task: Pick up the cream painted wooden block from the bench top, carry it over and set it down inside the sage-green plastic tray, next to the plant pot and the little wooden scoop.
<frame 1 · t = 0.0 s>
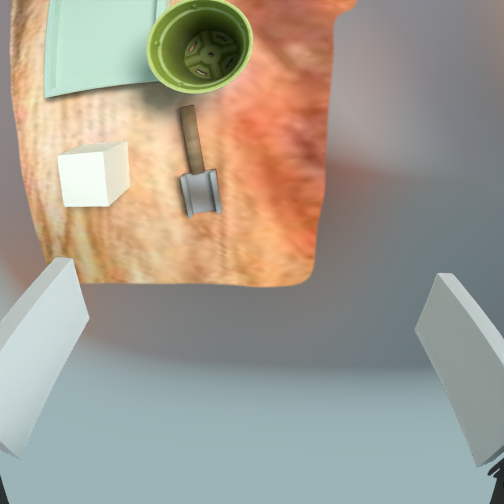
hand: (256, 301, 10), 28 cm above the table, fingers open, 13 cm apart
block: (107, 164, 36), on the table
plant pot: (210, 54, 30), on the table
scoop: (199, 171, 36), on the table
tray: (106, 27, 27), on the table
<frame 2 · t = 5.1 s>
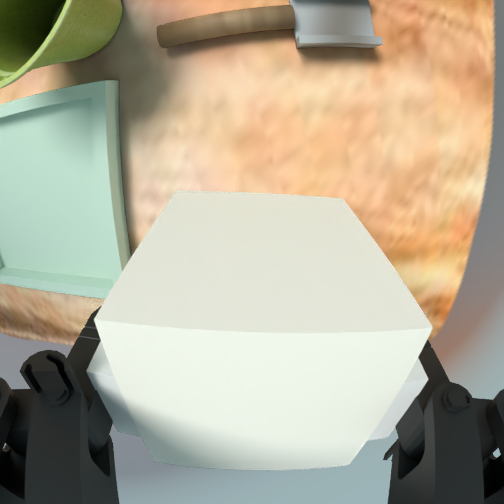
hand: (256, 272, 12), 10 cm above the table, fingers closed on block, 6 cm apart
block: (255, 266, 12), point 9 cm above the table, touching gripper
plant pot: (86, 22, 15), on the table
scoop: (292, 19, 15), on the table
tray: (39, 194, 21), on the table
when the fingers open (2 cm above the table, at t = 9.2 s): block stays where it is, resting on tray.
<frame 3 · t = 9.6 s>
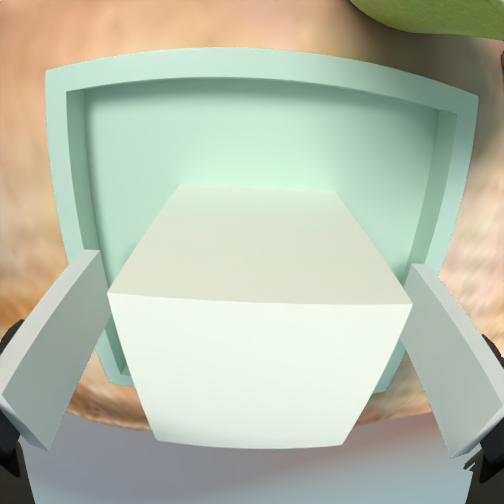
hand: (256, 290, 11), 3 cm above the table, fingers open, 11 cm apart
block: (254, 256, 13), point 1 cm above the table, touching tray
tray: (255, 249, 14), on the table
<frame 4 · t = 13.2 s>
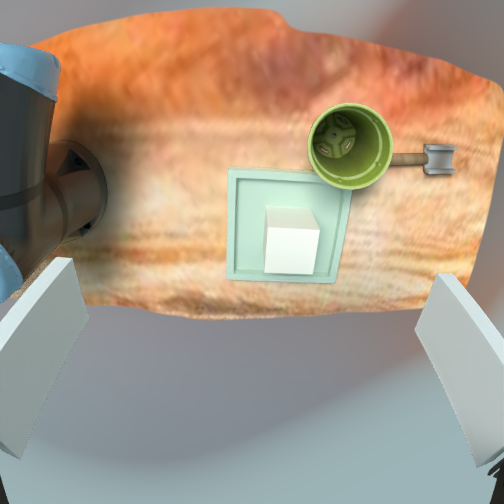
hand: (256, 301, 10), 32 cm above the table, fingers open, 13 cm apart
block: (285, 227, 43), point 1 cm above the table, touching tray
plant pot: (332, 135, 38), on the table
scoop: (423, 157, 38), on the table
tray: (286, 225, 44), on the table
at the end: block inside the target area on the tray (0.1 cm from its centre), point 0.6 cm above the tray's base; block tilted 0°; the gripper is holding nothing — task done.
